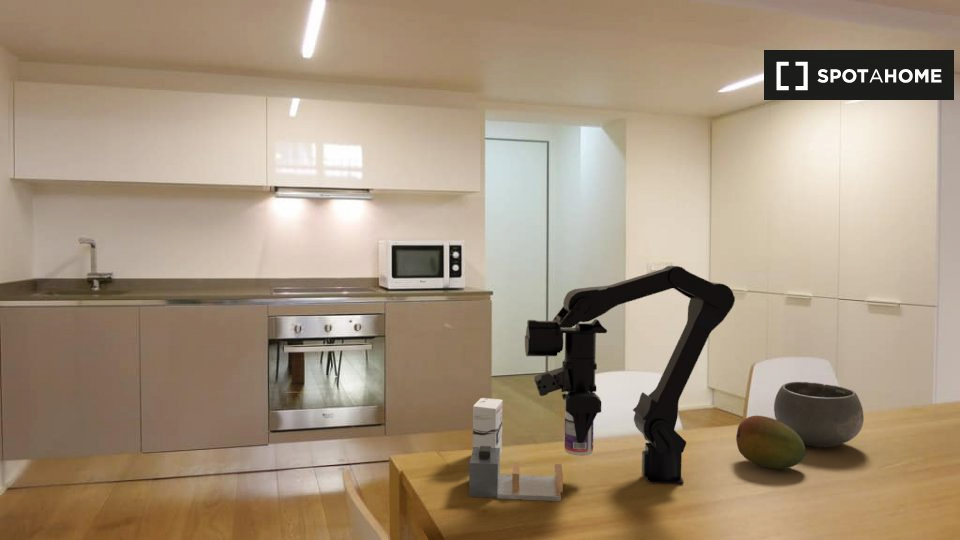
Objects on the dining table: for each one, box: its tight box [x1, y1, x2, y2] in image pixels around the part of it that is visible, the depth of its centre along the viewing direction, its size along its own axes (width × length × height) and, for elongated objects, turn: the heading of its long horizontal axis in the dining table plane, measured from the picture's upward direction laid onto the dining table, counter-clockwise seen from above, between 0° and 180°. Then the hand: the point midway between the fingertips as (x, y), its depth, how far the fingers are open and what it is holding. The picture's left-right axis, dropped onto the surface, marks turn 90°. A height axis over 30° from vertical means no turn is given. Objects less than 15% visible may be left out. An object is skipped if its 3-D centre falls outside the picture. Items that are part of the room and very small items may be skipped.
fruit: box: [735, 415, 806, 470], centre depth 133 cm, size 12×12×10 cm
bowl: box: [773, 381, 864, 448], centre depth 147 cm, size 18×18×13 cm
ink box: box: [472, 397, 504, 456], centre depth 136 cm, size 8×5×12 cm, turn 168°
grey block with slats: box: [468, 446, 564, 502], centre depth 119 cm, size 16×10×7 cm, turn 86°
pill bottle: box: [564, 411, 594, 457], centre depth 124 cm, size 5×5×10 cm
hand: (578, 438), depth 124 cm, fingers closed on pill bottle, 5 cm apart
